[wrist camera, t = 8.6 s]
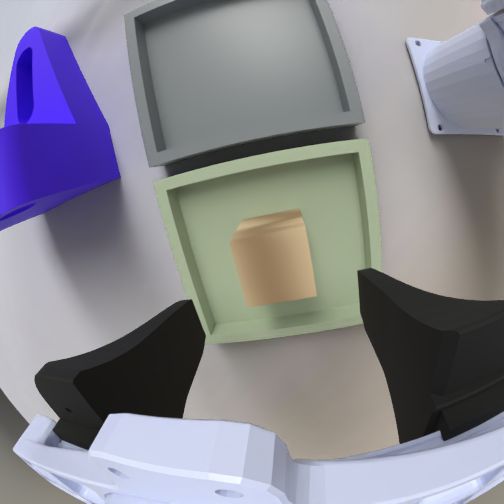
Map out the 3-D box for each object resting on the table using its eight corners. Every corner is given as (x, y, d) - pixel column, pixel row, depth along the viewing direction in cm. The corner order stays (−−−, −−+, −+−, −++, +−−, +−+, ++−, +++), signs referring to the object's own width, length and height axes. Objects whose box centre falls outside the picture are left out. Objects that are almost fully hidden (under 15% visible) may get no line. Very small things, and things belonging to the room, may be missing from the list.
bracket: (121, 177, 20) (5, 210, 9) (44, 212, 22) (-45, 252, 11) (94, 10, 14) (12, -28, 3) (24, 66, 16) (-55, 60, 5)
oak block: (299, 208, 18) (305, 227, 14) (309, 262, 20) (316, 296, 15) (242, 219, 19) (229, 241, 14) (255, 272, 20) (247, 307, 16)
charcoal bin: (308, -18, 13) (311, -34, 10) (354, 126, 17) (365, 122, 14) (138, 25, 15) (124, 15, 13) (164, 165, 19) (149, 167, 17)
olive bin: (357, 139, 17) (368, 138, 15) (373, 303, 21) (382, 319, 19) (167, 178, 19) (152, 181, 17) (211, 327, 24) (204, 344, 21)
